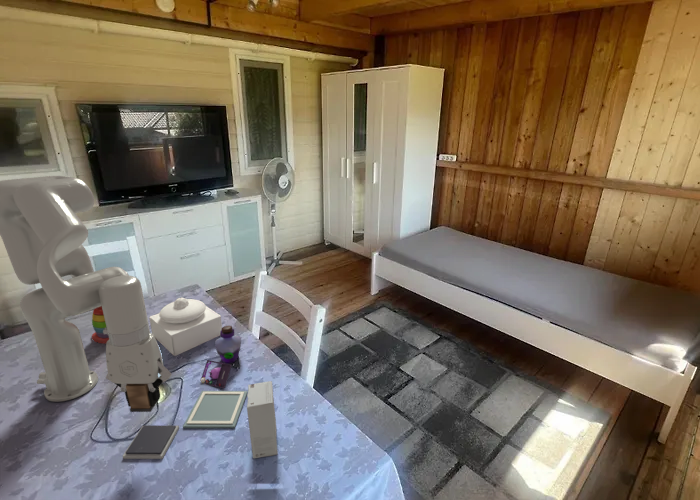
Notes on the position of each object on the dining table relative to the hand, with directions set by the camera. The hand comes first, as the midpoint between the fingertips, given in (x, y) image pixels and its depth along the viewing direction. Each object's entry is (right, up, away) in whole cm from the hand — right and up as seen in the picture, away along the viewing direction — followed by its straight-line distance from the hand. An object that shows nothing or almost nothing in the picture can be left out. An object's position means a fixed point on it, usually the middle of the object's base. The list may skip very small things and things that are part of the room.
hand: (144, 401), depth 85 cm
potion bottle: (+8, -1, +36) cm, 37 cm away
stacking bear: (-38, +4, +47) cm, 61 cm away
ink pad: (0, -12, +4) cm, 12 cm away
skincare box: (+27, -12, +5) cm, 30 cm away
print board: (+12, -8, +15) cm, 20 cm away
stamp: (0, -1, +1) cm, 1 cm away
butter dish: (-11, +3, +48) cm, 49 cm away
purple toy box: (+12, -3, +24) cm, 27 cm away
